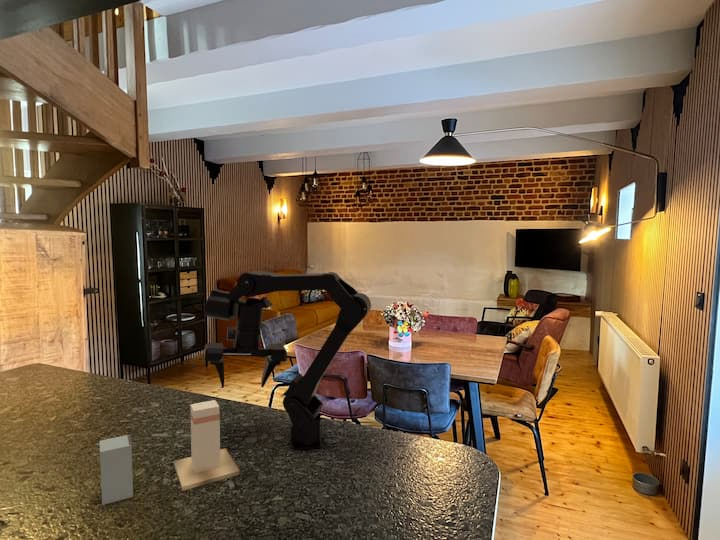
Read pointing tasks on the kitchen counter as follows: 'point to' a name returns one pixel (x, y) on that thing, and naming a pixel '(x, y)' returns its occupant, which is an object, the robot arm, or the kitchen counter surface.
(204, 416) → the beige upright block
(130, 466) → the ticket block
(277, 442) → the kitchen counter surface
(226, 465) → the coaster
